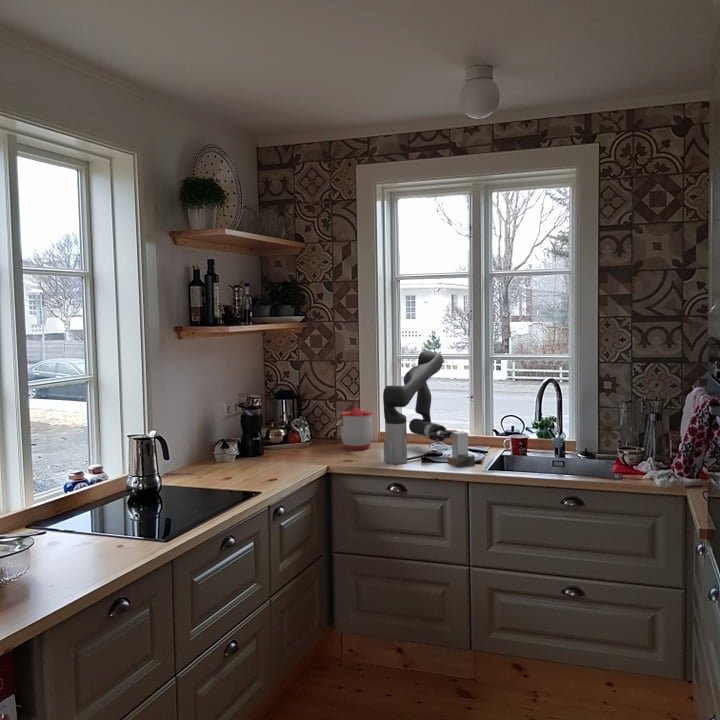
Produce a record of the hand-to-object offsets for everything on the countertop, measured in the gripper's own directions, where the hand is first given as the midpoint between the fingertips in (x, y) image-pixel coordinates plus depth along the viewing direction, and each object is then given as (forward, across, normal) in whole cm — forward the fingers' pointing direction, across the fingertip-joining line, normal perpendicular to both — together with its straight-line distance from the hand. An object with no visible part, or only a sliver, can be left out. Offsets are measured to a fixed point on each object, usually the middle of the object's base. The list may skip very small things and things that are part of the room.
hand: (452, 438), depth 311 cm
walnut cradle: (+8, 0, +10) cm, 13 cm away
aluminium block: (+7, 0, +7) cm, 10 cm away
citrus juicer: (-44, -29, +10) cm, 54 cm away
